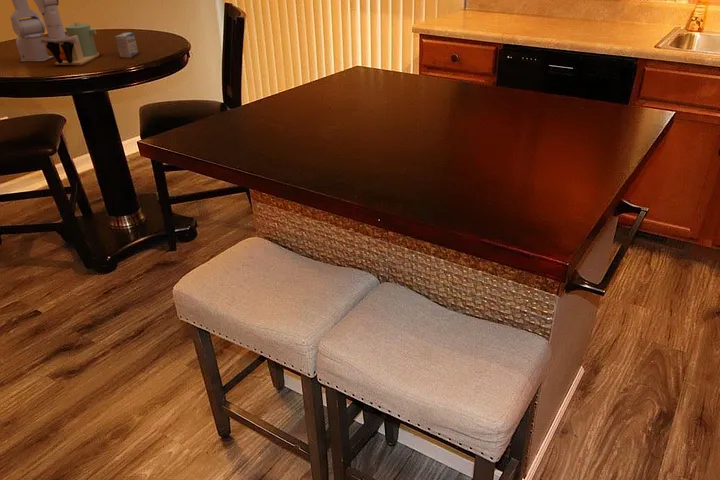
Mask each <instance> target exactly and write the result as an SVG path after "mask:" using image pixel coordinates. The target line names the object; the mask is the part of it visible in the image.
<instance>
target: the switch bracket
mask: <svg viewBox="0 0 720 480" xmlns="http://www.w3.org/2000/svg"><path fill="white" fill-rule="evenodd" d="M65 35H66V36H67V34H65ZM72 37H78V35H75V36H72ZM62 44H64V43H60V46H61V45H62ZM73 51H74V55H75V57H74V56H73V52H72V61H73V62H72V63H68V61H63V62H62V63H58V61H56V62H54V65H55V66H57V65H58V66H59V65H60V66H61V65H66V66H68V65H69V66H70V65H71V66H72V65H74V66H75V65H77V66H78V65H79V66H81V65H84V64H85V63H87V62H89V61H92V60H94V59H95V58H96V57H95V56H87V57H84V56H83V53H82V49H81V46H80V42H79V43H77V44H75V43H74V47H73Z"/></svg>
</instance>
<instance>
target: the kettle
mask: <svg viewBox="0 0 720 480" xmlns="http://www.w3.org/2000/svg"><path fill="white" fill-rule="evenodd" d="M64 30H65V33H66V35H67V36H75V35H78V39H79V42H80V46H81V49H82V53H83V56H84V57H87V56H95V58H97V57H99V56H100V53H99V52H98V50H97V47H96V43H95V39H94V36H93V35H97V34H98V31H97V29H96V28H94V29H93V28H91V24H89V23H80V21H76V22H73V23H72V24H68V25H65V26H64ZM73 56H74V57H75V55H74V51H73Z"/></svg>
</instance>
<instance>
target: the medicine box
mask: <svg viewBox="0 0 720 480" xmlns="http://www.w3.org/2000/svg"><path fill="white" fill-rule="evenodd" d="M114 37H115V42H116V46H117V49H118V54H119V57H120V58H133V57H135V56H136V55H137V54H139V50H138V46H137V42H136V38H135V33H134V32H127V31H126V32H122V33H119V34H118V35H115V36H114Z"/></svg>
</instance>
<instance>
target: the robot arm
mask: <svg viewBox="0 0 720 480" xmlns="http://www.w3.org/2000/svg"><path fill="white" fill-rule="evenodd" d="M33 1H34V3H35V5H36V6H37V9H38V11H39V13H41V16H40V14H39V13H38V12H37V11H35V10H33V9H31V8H30V5H29V3H28V0H11V3H12V5H13V7H14V11H13V12H12V14H11V15H10V21H11V27H12V30H13V32H14V33H15V35H16V36H18V37H17V38H16V39H15V45H16V48H17V51H18V55H19V57H20V62H44V61H47V60H49V59H51V58H55V60H56V62H58V63H62V62H63V60H61V59H60V57H59V54H60V53H61V49H62V52H64V53H65V55H66V59H67V61H68V63H72V62H73V61H72V52H73V47H74V43H75V44H77V43H79V39H78V37H67V36H66V35H67V34H66V30H65V27H64V25H63V22H62V18H61V15H60V11H59V8H58V6H59V3H60V0H33ZM41 17H42V19H43V20H42V19H41ZM45 32H47V36H45ZM61 43H64V44H62V45H61ZM60 47H61V48H60ZM47 49H48V50H49V51H50V52H51V54H52V55H49V53H48V50H47Z"/></svg>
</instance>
